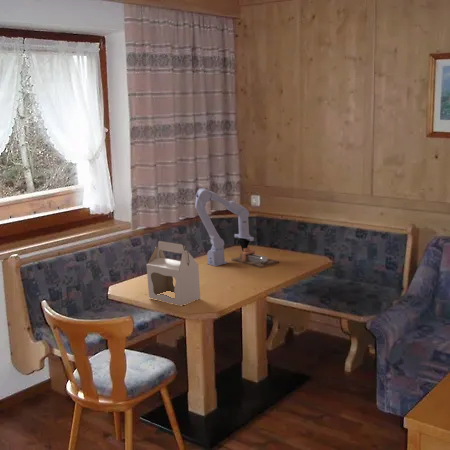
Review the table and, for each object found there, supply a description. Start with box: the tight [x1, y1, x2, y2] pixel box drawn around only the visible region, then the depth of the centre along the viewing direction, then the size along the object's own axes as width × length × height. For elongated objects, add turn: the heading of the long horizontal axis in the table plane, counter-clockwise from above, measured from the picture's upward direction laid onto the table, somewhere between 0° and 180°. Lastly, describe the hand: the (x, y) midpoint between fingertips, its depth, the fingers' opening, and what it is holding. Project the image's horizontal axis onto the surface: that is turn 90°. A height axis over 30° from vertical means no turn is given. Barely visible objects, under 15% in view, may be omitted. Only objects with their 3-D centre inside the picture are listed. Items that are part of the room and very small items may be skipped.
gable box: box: [146, 240, 201, 305], centre depth 309 cm, size 22×13×28 cm, turn 50°
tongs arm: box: [247, 253, 263, 257], centre depth 371 cm, size 14×2×3 cm, turn 41°
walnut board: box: [231, 255, 280, 269], centre depth 372 cm, size 25×14×1 cm, turn 40°
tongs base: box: [240, 253, 268, 264], centre depth 369 cm, size 19×4×4 cm, turn 40°
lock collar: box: [240, 246, 256, 261], centre depth 373 cm, size 3×8×6 cm, turn 130°
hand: (244, 251), depth 375 cm, fingers closed
